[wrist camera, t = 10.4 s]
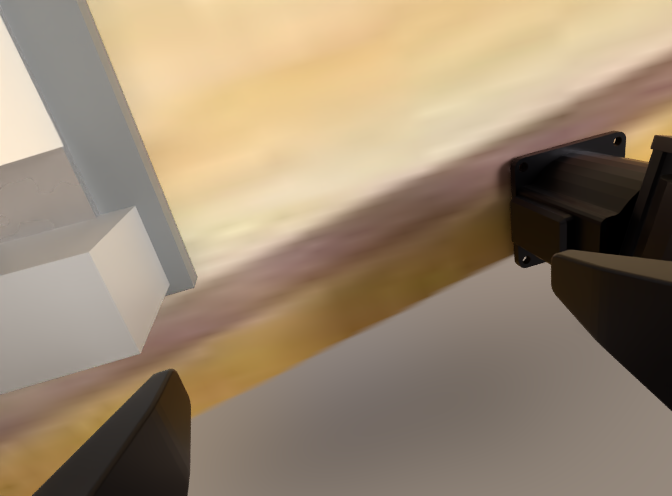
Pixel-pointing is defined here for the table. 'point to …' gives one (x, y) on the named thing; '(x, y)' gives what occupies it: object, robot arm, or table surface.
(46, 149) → the block
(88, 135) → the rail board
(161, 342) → the table surface
